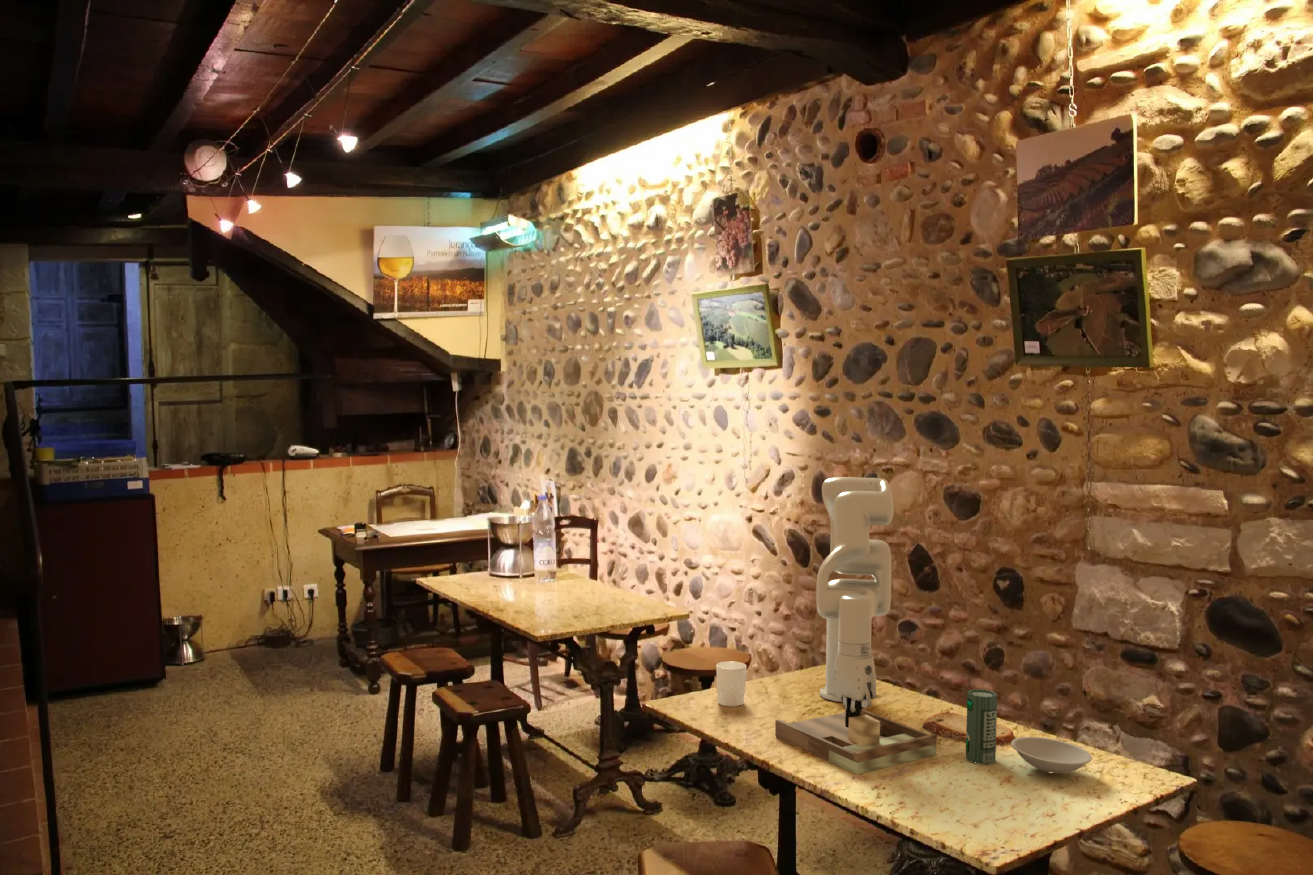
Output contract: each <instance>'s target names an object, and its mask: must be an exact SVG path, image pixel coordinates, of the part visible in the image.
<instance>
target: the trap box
mask: <svg viewBox="0 0 1313 875" xmlns="http://www.w3.org/2000/svg"><path fill="white" fill-rule="evenodd" d="M845 713H846V711H845V712H840V713H835V714H829V715H824V716H819V717H815V718H810V719H805V720H799V721H794V722H791V723H790V722H789V723H788V722H785V721H784V720H781V719H779V718H778V719H775V728H774V729H775V730H774V731H775V732H774V733H775V734H774V735H775V736H776V737H775V738H777V737H778V739H779V738H780V739H779V740H781V739H782V740H781V741H784V742H785V743H788V744H791V745H792V746H794V745H795V747H797V748H799V749H800V750H804V751H806V752H807V753H810V754H812V755H814V756H816V757H818V758H821V759H823V760H825V761H827V762H829V763H831V764H833V765H835V766H838V767H840V768H842V769H844V770H846V771H849V772H850V773H853V774H856V775H859V774H865V773H868V772H871V771H877V770H880V769H884V768H889V767H893V766H897V765H900V764H901V765H902V764H905V763H909V762H913V761H918V760H922V759H924V758H929V757H933V756H936V755H937V740H938V739H937V736H938V735H936V734H934V733H932V734H928V733H927V732H924V731H921V730H918V729H916V728H913V727H911V726H908V725H905V724H903V723H901V722H898V721H895V720H892V719H890V718H887V717H884V716H882V715H879V714H876V713H874V712H871V711H869V710H866V709H864V708H863V710H862V711H861V715H860V716H863V715H868V716H870V717H872V718H874V719H876V720H878V721H880V743H877V744H871V745H865V746H860V745H858V744H856V743H854V742H853V741H851V740H849V739H848V728H847V727H846V726H845Z"/></svg>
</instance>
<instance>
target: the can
mask: <svg viewBox="0 0 1313 875" xmlns="http://www.w3.org/2000/svg"><path fill="white" fill-rule="evenodd" d="M966 695H967V697H966V716H967V725H966V741H965V760H966V761H968V762H971V763H973V762H974V764H977V763H980V765H991V764H990V763H992V764H995V763H996V758H997V757H996V753H997V749H996V748H997V744H996V724H998V723H997V720H998V719H997V717H998V715H997V714H998V693H996V692H995V691H992V690H986V689H979V688H978V689H975V688H973V689H969V690H968V691H967V693H966ZM975 762H976V763H975Z"/></svg>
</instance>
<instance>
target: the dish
mask: <svg viewBox="0 0 1313 875" xmlns="http://www.w3.org/2000/svg"><path fill="white" fill-rule="evenodd" d="M1010 746H1011V747H1012V749H1013V750H1015V751H1016V753H1017V754H1018V755H1019V756H1020V757H1021V758H1022V759H1023V761H1025V762H1026V763H1027V764H1029V765H1030V766H1032V767H1034V768H1036V769H1038V770H1042V771H1044V772H1046V771H1047V772H1053V774H1068V773H1073V772H1075V771H1077V770H1079V769H1081V768H1082V767H1084V765H1085V766H1086V764H1089V763H1090V762H1091V761H1092V759H1093V756H1092V755H1091V753H1089V751H1087V750H1086V749H1084V748H1082V747H1080V746H1078V745H1076V744H1072V743H1070V742H1067V741H1062V740H1059V739H1055V738H1054V739H1053V738H1048V737H1042V736H1039V737H1038V736H1021V737H1015V739H1014V740H1012V742H1011V743H1010ZM1047 772H1046V773H1047Z"/></svg>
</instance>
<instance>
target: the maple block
mask: <svg viewBox="0 0 1313 875" xmlns="http://www.w3.org/2000/svg"><path fill="white" fill-rule="evenodd" d="M848 739H849V740H851V741H853V742H854V743H856V744H858V745H860V746H865V745H871V744H877V743H880V721H878V720H876V719H874V718H872V717H870V716H868V715H863V716H856V717H849V727H848Z"/></svg>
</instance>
